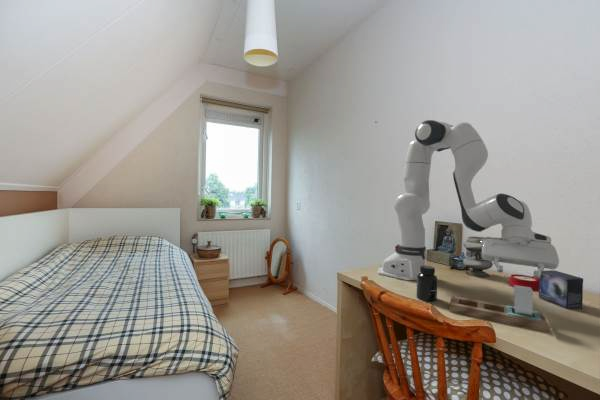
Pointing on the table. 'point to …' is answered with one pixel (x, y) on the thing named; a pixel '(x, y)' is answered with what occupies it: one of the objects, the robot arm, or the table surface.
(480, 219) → the robot arm
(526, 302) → the steel peg
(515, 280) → the alarm clock
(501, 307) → the wooden compartment tray
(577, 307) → the small box
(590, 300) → the table surface
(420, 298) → the supplement bottle
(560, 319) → the table surface
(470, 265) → the apothecary jar
